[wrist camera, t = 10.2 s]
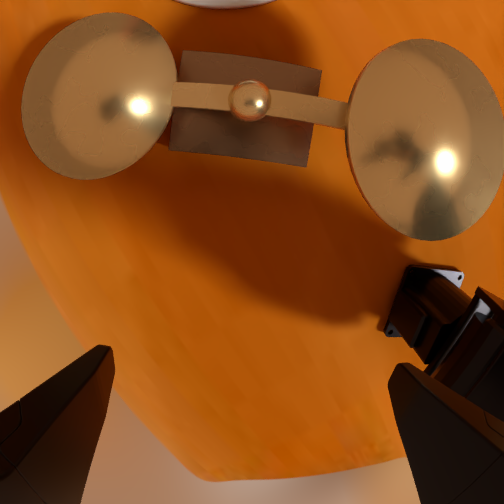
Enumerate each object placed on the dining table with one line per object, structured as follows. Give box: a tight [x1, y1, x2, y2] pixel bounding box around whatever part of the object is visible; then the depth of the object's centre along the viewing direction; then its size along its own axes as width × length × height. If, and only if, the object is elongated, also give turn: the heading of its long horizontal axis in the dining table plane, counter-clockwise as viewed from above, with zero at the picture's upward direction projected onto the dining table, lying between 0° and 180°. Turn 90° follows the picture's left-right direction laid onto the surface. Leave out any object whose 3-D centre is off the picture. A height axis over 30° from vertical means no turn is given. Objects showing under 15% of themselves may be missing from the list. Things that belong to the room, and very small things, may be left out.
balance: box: [21, 13, 504, 241], centre depth 14 cm, size 25×9×8 cm, turn 82°
